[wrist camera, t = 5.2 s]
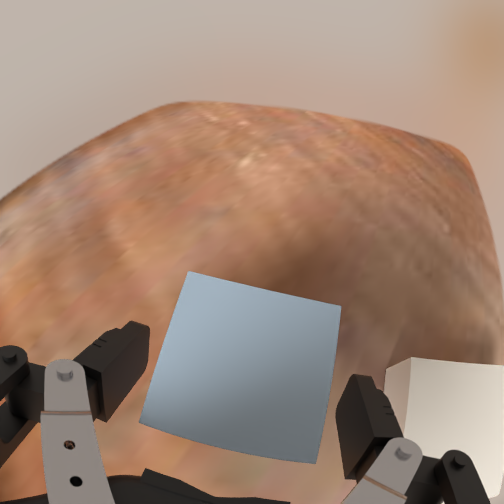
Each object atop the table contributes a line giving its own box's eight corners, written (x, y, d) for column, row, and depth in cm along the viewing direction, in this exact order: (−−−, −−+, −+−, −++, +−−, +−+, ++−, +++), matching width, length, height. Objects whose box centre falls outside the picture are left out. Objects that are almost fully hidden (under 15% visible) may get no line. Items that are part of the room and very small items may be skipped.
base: (361, 509, 11) (384, 520, 9) (386, 368, 16) (411, 356, 14) (470, 493, 11) (499, 494, 8) (484, 376, 16) (511, 365, 13)
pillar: (265, 440, 14) (315, 463, 5) (191, 423, 14) (138, 422, 6) (280, 372, 16) (341, 306, 8) (210, 356, 16) (188, 271, 8)
